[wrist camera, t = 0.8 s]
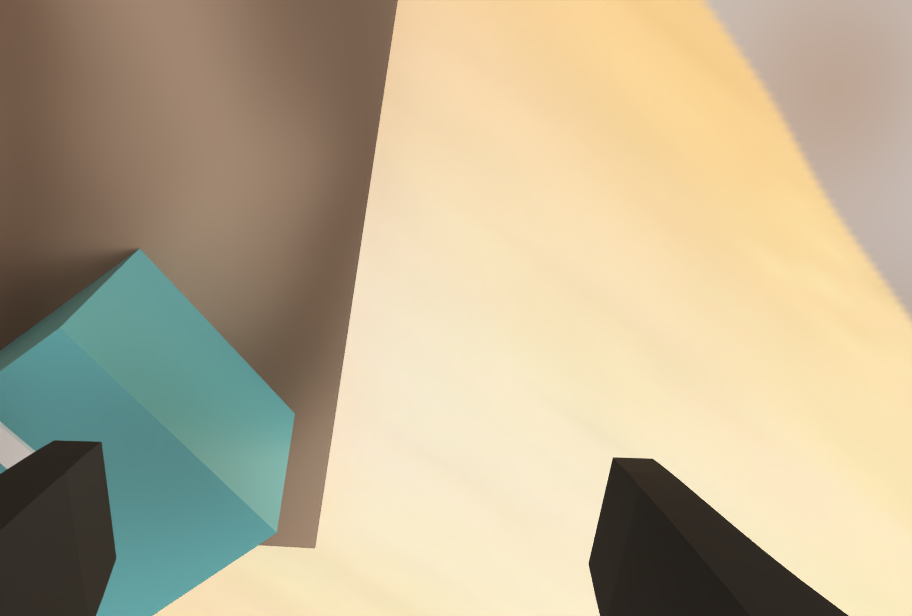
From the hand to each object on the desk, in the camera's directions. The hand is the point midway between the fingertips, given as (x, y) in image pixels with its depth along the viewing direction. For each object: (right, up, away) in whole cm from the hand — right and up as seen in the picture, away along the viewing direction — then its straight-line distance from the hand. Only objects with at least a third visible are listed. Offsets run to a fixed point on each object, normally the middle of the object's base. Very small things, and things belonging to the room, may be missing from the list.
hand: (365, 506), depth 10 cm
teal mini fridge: (-7, +1, +8) cm, 11 cm away
